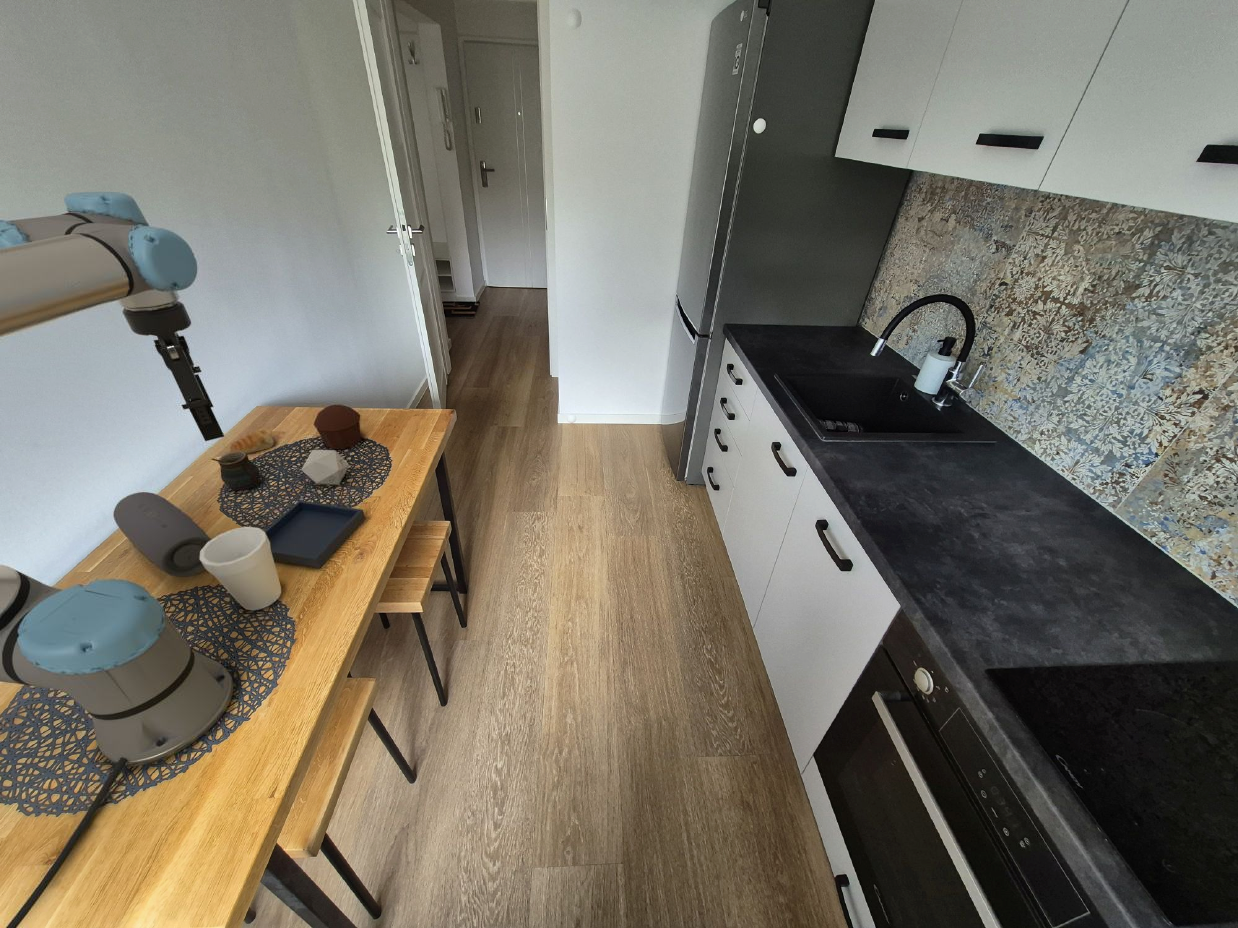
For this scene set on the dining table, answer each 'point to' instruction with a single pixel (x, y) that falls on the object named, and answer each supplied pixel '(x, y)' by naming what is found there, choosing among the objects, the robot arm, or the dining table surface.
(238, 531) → the foam cup
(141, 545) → the bluetooth speaker
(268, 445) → the pastry
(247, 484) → the dark brown pitcher
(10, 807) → the dining table surface
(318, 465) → the die
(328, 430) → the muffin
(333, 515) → the tray
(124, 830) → the dining table surface
